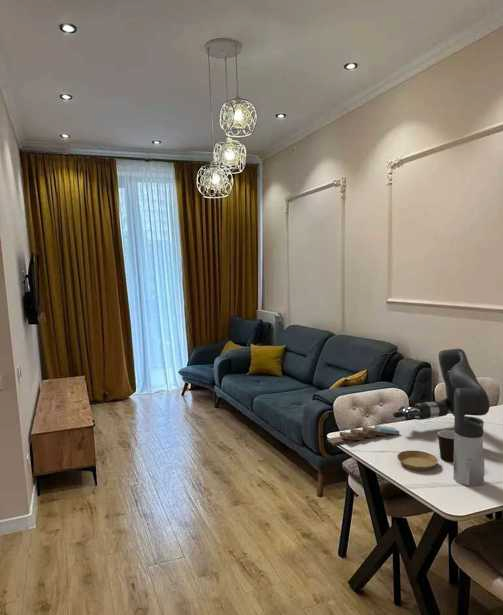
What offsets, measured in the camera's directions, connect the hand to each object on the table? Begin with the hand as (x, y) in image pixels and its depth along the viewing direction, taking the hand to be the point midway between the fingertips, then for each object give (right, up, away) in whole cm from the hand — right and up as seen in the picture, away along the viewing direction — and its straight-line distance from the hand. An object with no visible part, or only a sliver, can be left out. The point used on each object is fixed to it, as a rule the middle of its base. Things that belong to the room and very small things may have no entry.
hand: (393, 415), depth 205 cm
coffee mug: (+15, -11, -27) cm, 32 cm away
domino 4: (-5, -8, 0) cm, 9 cm away
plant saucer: (-1, -12, -31) cm, 33 cm away
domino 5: (+1, -8, +1) cm, 8 cm away
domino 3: (-11, -8, -2) cm, 14 cm away
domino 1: (-21, -9, -6) cm, 24 cm away
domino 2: (-16, -9, -4) cm, 19 cm away
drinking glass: (+26, -10, -17) cm, 33 cm away
